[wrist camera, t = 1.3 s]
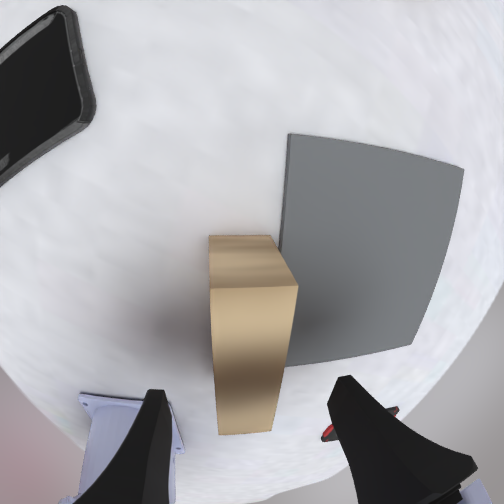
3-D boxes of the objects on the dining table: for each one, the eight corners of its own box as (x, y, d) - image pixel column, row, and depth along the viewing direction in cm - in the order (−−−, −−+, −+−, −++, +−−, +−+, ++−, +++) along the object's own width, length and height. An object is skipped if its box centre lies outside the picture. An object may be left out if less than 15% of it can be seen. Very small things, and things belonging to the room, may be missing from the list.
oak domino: (257, 371, 18) (271, 431, 13) (213, 373, 18) (218, 435, 13) (269, 234, 14) (298, 285, 9) (208, 234, 14) (209, 288, 9)
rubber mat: (408, 340, 19) (411, 344, 19) (266, 363, 18) (267, 368, 17) (459, 167, 14) (464, 169, 13) (288, 134, 12) (291, 134, 11)
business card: (403, 407, 24) (381, 430, 26) (401, 403, 25) (379, 426, 27) (337, 420, 22) (317, 443, 24) (335, 414, 23) (315, 438, 25)
